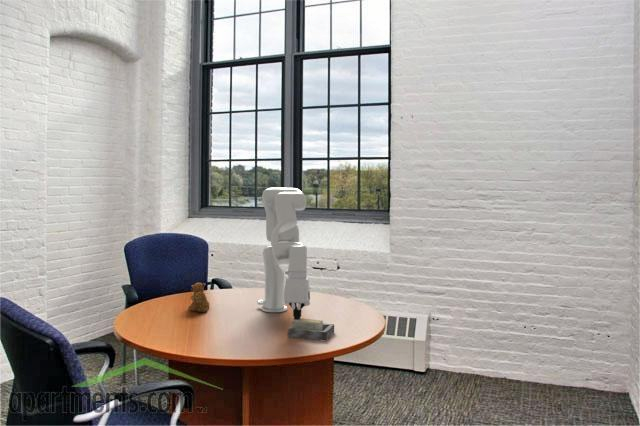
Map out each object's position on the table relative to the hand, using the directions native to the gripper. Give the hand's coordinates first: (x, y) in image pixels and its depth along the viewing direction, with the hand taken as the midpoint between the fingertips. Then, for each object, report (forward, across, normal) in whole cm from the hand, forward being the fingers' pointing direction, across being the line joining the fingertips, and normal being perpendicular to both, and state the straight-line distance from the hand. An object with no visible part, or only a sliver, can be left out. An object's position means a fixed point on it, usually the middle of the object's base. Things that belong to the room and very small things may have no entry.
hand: (297, 318), depth 214 cm
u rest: (+6, +6, 0) cm, 9 cm away
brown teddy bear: (+6, -57, +20) cm, 61 cm away
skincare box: (+3, -2, 0) cm, 3 cm away
